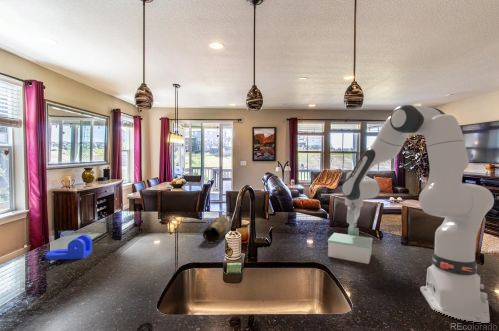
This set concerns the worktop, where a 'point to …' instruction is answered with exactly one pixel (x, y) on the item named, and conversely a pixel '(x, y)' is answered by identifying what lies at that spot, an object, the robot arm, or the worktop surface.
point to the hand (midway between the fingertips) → (353, 228)
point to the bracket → (73, 249)
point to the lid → (351, 239)
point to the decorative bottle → (217, 229)
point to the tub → (349, 252)
